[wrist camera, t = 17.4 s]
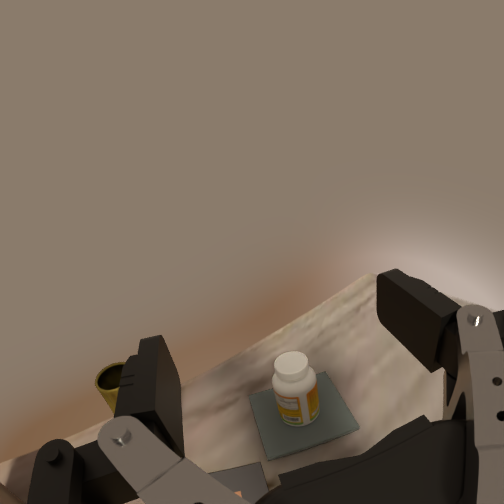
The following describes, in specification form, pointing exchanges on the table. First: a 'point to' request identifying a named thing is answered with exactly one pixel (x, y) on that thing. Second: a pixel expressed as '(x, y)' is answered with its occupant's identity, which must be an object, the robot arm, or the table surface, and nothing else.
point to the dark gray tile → (244, 481)
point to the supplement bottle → (295, 389)
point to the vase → (110, 383)
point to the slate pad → (300, 438)
